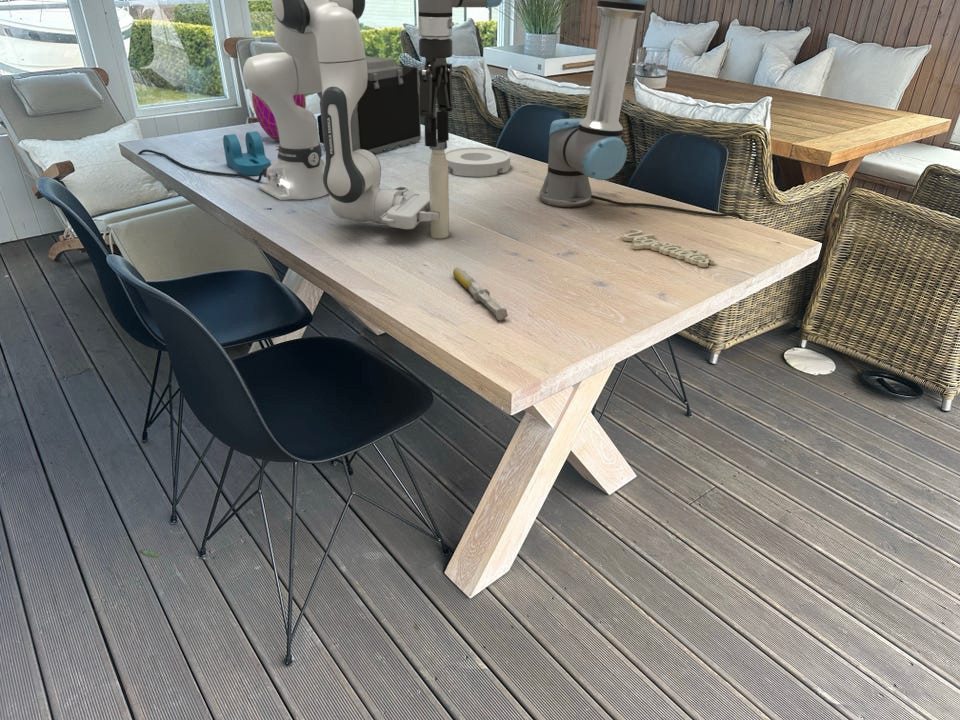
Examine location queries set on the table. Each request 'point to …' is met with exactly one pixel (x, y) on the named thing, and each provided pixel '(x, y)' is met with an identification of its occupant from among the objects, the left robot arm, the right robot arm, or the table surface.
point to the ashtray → (477, 161)
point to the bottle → (439, 193)
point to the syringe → (479, 293)
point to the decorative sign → (667, 248)
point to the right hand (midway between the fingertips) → (437, 142)
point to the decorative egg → (267, 116)
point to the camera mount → (246, 154)
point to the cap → (440, 145)
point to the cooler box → (384, 108)
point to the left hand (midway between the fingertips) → (442, 212)
